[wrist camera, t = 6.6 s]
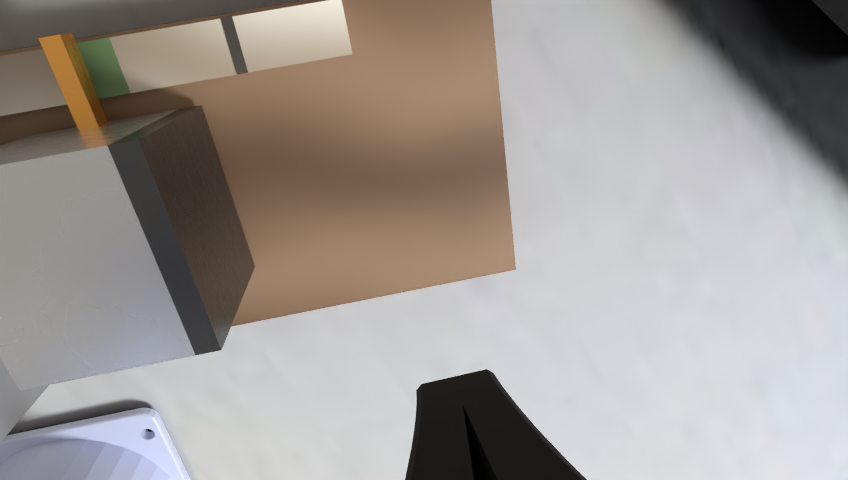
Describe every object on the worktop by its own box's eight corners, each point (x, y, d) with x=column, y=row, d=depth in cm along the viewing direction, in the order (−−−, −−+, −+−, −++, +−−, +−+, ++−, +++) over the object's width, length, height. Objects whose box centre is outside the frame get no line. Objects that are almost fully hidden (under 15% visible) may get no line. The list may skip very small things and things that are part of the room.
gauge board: (504, 251, 19) (565, 346, 13) (6, 350, 18) (-147, 494, 12) (475, -27, 15) (545, -53, 10) (-158, 81, 14) (-481, 120, 9)
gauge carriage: (255, 266, 16) (221, 349, 12) (106, 295, 16) (20, 390, 12) (172, 17, 13) (90, 16, 9) (-13, 49, 13) (-183, 62, 9)
